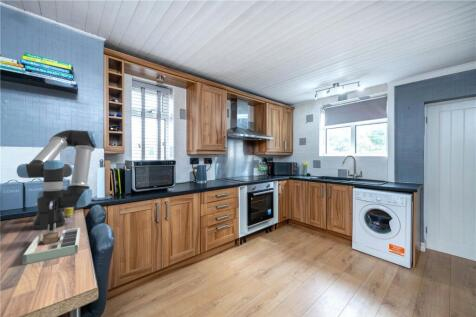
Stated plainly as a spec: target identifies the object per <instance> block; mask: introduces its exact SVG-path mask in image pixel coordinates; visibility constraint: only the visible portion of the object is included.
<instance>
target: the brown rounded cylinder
mask: <svg viewBox="0 0 476 317" xmlns="http://www.w3.org/2000/svg"><path fill="white" fill-rule="evenodd" d="M58 241H59V231H55V232H52V233H48V232H47V233H45V234H43V235H42V245H51V244H55V243H58Z"/></svg>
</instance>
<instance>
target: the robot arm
mask: <svg viewBox="0 0 476 317" xmlns="http://www.w3.org/2000/svg"><path fill="white" fill-rule="evenodd" d="M68 147H73V149H74V150H75V157H74V163H73V166H72V165H71V164H67V163H65V161H64V160H62V159H60V160H59V159H56V157H58V155H59V154H60V153H61V151H62V150H65V149H66V148H68ZM98 147H99V138H98V134H97V133H96V132H95V131H93V130H92V131H91V130H78V129H76V130H75V129H67V130H63V131H60V132H57V133H55V134H53V136H51V138H49V140H48V143H47V144H46V145H45V146H44V147H43V148H42V150H40V151H39V153H38V154H36V156H35V157H34V158H33V159H31V161H30V162H29V163H21V164H19V165H18V166H17V168H16V175H17V176H18V177H19V178H22V179H25V178H26V179H41V178H43V180H42V181H43V183H42V184H41V186H43V187H42V189H41V190H39V191H38V192H37V197H36V200H37V201H36V203H37V205H36V216H35V218H34V220H33V223H32V224H31V228H32V229H33V230H47V233H52V232H56V228H57V227H62V226H64V225H65V224H66V221H67V220H66V218H65V217H64V212H63V209H64V208H73V207H74V208H84V207H87V206H88V205H89V204H90V202H91V201H92V197H93V190H92V189H91V188H90V186H89V185H88V181H89V173H90V165H91V158H92V152H94V151H95V148H98ZM68 177H71V181H70V184H69V185H67V187H66V189H64V178H68Z"/></svg>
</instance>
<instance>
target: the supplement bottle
mask: <svg viewBox="0 0 476 317" xmlns="http://www.w3.org/2000/svg"><path fill="white" fill-rule="evenodd" d="M74 210H75V207H73V208H63V215H64V217H69V218H73V217H74ZM72 216H73V217H72Z"/></svg>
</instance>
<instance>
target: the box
mask: <svg viewBox="0 0 476 317" xmlns="http://www.w3.org/2000/svg"><path fill="white" fill-rule="evenodd" d="M61 233H62V234H61V236H60V238H59V243H57V246H56V248H52V249H46V250H41V251H35V250H36V249H37V247H38V246H39V244H40V243H41V240H42V233H38V234H37V235H36V237H35V238H34V239H33V241H32V242H31V243H30V244H29V246H28V248H27V249H26V250H25V252H24V253H23V255H22V265H23V266H24V265H28V264H33V262H34V263H38V262H43V261H49V260H51V259H57V258H62V256H63V257H67V256H71V255H70V254H72V255H76V254H75V253H77V254H78V252H79V245H80V244H79V243H80V235H81V227H75V228H69V229H63V230H62V232H61ZM66 255H67V256H66Z"/></svg>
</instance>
